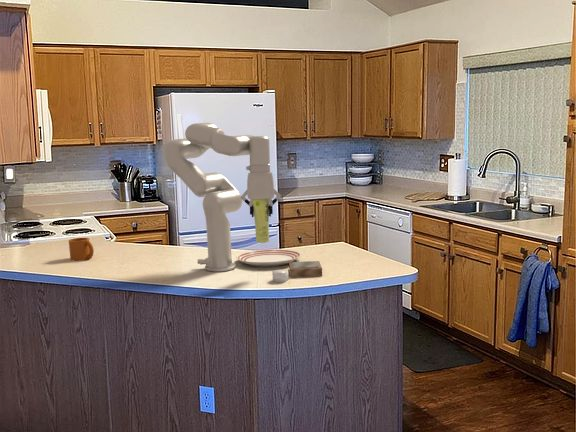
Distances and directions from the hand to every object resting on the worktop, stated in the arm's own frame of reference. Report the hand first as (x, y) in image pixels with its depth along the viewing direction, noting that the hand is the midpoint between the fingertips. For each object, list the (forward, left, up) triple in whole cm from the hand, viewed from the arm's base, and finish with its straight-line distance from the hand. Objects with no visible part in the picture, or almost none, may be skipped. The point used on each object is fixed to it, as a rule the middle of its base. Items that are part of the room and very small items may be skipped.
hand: (261, 215), depth 237 cm
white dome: (+6, -8, -24) cm, 26 cm away
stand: (+16, +2, -23) cm, 29 cm away
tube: (0, 0, -10) cm, 10 cm away
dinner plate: (+2, +23, -24) cm, 33 cm away
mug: (-82, +44, -24) cm, 96 cm away
